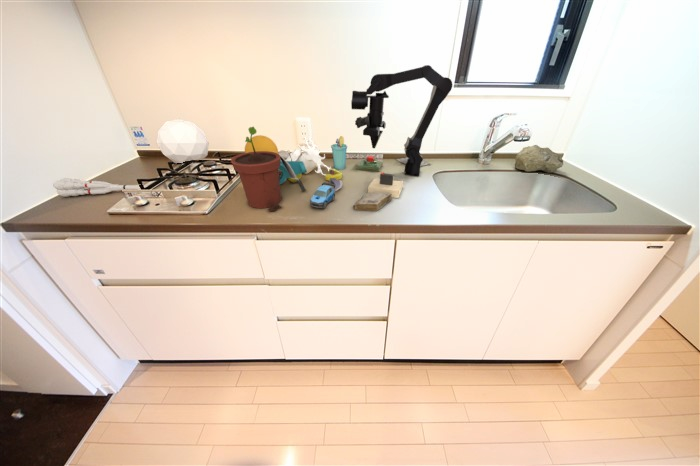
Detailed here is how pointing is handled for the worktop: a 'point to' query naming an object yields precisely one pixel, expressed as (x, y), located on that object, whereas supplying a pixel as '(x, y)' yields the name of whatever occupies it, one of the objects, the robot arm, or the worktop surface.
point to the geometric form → (182, 141)
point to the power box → (370, 165)
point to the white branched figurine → (312, 158)
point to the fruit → (296, 177)
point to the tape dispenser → (296, 167)
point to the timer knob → (386, 179)
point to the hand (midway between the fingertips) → (373, 148)
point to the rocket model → (87, 187)
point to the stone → (372, 201)
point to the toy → (261, 144)
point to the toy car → (323, 196)
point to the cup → (339, 153)
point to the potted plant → (261, 176)
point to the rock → (538, 159)
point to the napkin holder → (408, 158)
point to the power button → (370, 158)
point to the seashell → (284, 155)
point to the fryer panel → (386, 187)
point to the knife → (334, 178)
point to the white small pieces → (295, 154)
